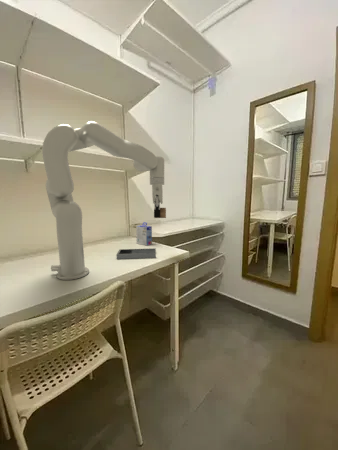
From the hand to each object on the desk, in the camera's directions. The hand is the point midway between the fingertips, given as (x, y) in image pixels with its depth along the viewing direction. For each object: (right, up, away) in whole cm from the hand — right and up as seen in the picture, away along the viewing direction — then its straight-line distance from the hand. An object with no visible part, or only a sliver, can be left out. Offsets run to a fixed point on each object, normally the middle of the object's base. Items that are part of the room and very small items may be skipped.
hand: (157, 216), depth 111 cm
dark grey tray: (-11, -21, +5) cm, 24 cm away
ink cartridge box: (-10, -18, +30) cm, 37 cm away
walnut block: (+2, -1, 0) cm, 2 cm away
